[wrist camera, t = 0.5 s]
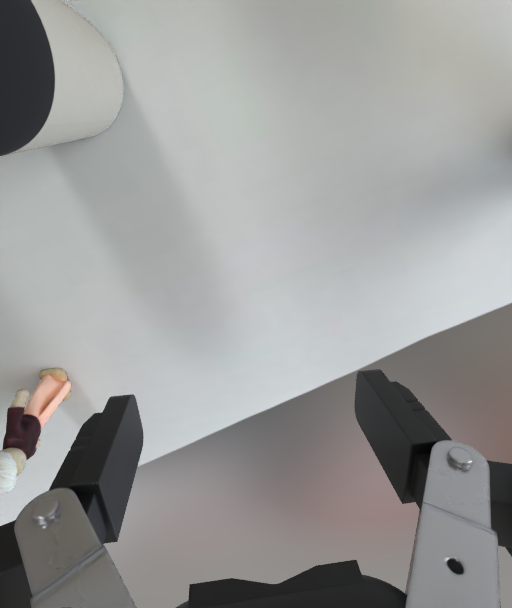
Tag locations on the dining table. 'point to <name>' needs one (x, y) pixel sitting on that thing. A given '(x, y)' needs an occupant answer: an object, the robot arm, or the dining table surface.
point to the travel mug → (53, 76)
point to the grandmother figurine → (29, 423)
